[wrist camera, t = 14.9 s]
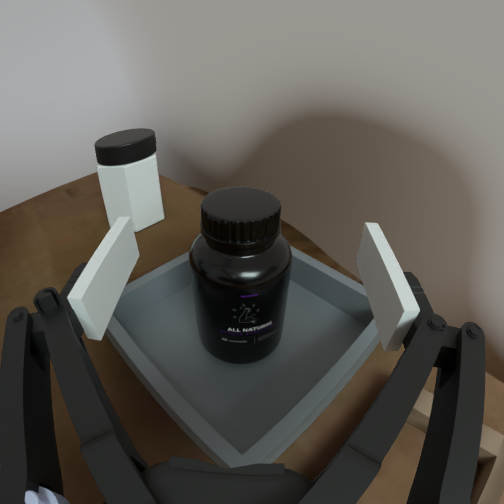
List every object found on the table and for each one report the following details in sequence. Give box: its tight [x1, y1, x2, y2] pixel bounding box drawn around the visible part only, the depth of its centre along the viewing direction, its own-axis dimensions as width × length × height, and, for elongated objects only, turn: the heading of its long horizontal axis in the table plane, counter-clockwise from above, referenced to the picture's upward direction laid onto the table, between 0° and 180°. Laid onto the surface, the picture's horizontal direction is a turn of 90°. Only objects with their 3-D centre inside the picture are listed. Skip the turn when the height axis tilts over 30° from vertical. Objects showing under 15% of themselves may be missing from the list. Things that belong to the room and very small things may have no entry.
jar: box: [95, 129, 164, 232], centre depth 39 cm, size 9×8×12 cm
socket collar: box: [406, 389, 504, 504], centre depth 14 cm, size 13×13×2 cm
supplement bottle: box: [189, 186, 292, 364], centre depth 22 cm, size 7×7×12 cm
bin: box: [105, 246, 381, 468], centre depth 25 cm, size 18×18×4 cm
